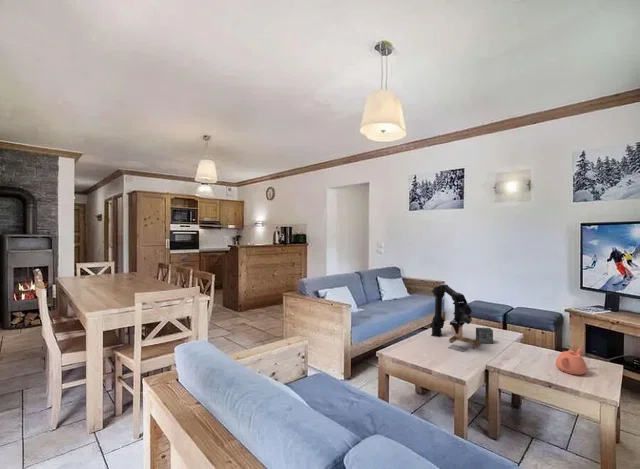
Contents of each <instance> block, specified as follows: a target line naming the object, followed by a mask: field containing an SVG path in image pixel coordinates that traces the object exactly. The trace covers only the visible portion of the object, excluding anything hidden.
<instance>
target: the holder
mask: <svg viewBox="0 0 640 469" xmlns="http://www.w3.org/2000/svg"><path fill="white" fill-rule="evenodd" d="M448 341H449V344H451V343H453V342H455V341H461V342H465V343H469V344H472V347H473V349H476V348H478V347H479V346H481V343H480V341H479V340H476V338H474V339H473V338H470V337H464V336H462V338H458V337H455V334H454V335H453V336H451V337H450V338H449V339H448Z"/></svg>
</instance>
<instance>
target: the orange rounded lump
mask: <svg viewBox="0 0 640 469" xmlns="http://www.w3.org/2000/svg"><path fill="white" fill-rule="evenodd" d="M581 351H582V348H581V347H579V348H577V350H576V352H575V351H574V350H571V349H568V350H564V351H562V352H560V353H559V354H558V356H557V357H556V359H555V366H556V367H557V369H558V370H560V371H561V372H563V371H564V372H563V373H567V374H571V375H574V374H575V375H576V376H579V375H580V376H581V375H584V374H586V373H587V371H588V366H587V364H586V361H585V360H584V358H583V356H582V352H581Z"/></svg>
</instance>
